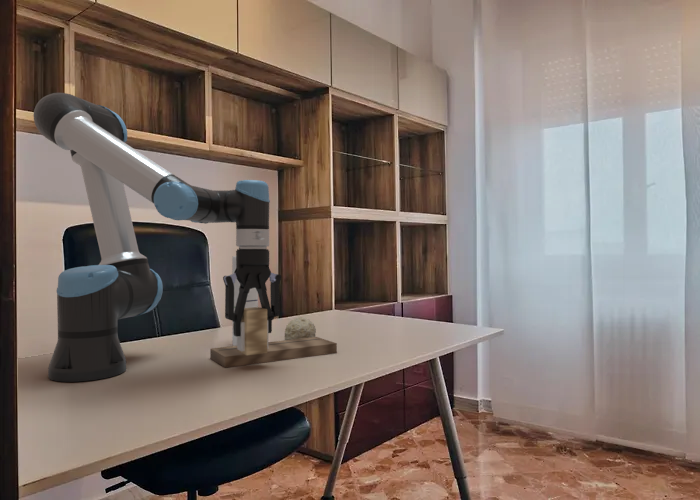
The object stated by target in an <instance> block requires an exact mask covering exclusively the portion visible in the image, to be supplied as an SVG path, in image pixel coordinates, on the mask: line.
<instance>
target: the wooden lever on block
mask: <svg viewBox="0 0 700 500" xmlns="http://www.w3.org/2000/svg"><path fill="white" fill-rule="evenodd" d="M241 321H242V322H245V351H240V350H239V352H241V353H243V354H245V355H254V354H262V353H267V309H264V308H262V307H261V306H258V307H252V308H244V312H243V316H242V320H241ZM233 329H234V323H233Z"/></svg>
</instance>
